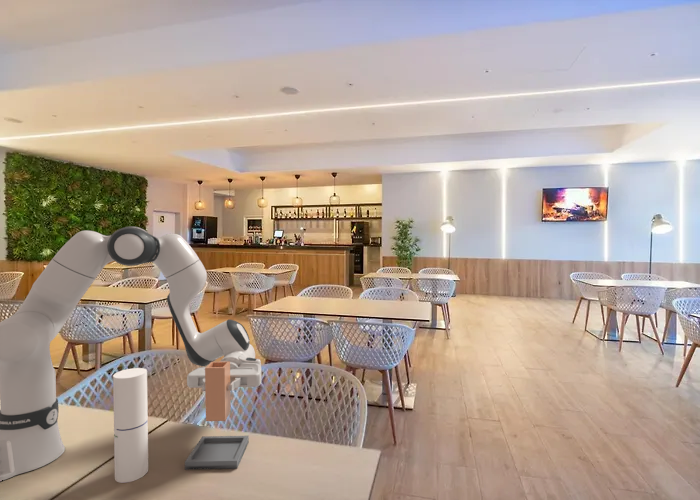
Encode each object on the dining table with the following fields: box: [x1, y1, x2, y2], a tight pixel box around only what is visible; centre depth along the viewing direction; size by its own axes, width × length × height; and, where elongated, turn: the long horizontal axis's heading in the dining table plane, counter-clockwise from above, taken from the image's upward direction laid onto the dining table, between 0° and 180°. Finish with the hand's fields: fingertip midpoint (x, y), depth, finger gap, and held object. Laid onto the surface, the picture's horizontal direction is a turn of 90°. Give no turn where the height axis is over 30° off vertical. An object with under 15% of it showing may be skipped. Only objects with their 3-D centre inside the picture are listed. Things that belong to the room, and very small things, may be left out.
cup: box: [204, 361, 232, 422], centre depth 99 cm, size 5×5×14 cm
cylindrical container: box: [112, 367, 149, 483], centre depth 91 cm, size 7×7×25 cm
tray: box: [184, 435, 249, 471], centre depth 99 cm, size 13×12×2 cm
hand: (217, 388), depth 98 cm, fingers closed on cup, 5 cm apart
